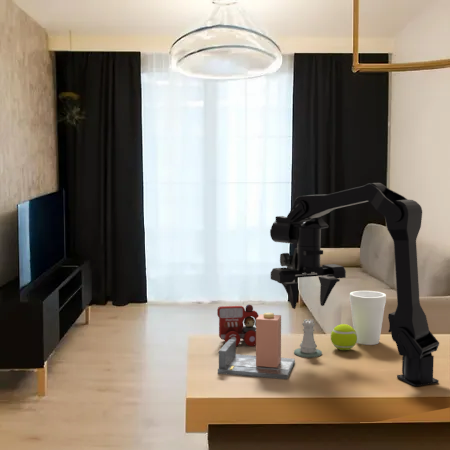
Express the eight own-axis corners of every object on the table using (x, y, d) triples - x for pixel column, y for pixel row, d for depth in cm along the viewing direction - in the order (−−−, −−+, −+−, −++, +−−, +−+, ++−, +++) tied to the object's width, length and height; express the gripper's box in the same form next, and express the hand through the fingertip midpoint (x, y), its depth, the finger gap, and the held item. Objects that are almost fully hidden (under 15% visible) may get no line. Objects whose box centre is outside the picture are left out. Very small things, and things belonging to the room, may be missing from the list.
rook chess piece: (296, 352, 155) (296, 321, 154) (303, 347, 159) (304, 317, 158) (313, 355, 153) (313, 323, 152) (319, 350, 157) (320, 319, 156)
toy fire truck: (266, 346, 163) (266, 307, 162) (219, 348, 161) (219, 309, 160) (260, 338, 170) (260, 301, 169) (215, 341, 168) (215, 303, 167)
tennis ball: (345, 355, 154) (345, 329, 154) (325, 349, 159) (325, 323, 159) (362, 350, 158) (362, 324, 158) (342, 344, 164) (342, 319, 163)
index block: (280, 360, 146) (281, 311, 145) (277, 367, 141) (277, 317, 140) (260, 359, 147) (260, 310, 146) (255, 365, 142) (255, 315, 141)
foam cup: (346, 336, 171) (347, 290, 170) (380, 336, 171) (381, 290, 170) (352, 346, 162) (353, 297, 161) (388, 346, 161) (389, 297, 160)
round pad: (327, 355, 154) (327, 353, 154) (302, 358, 151) (302, 356, 151) (312, 348, 160) (312, 346, 160) (289, 351, 158) (289, 349, 158)
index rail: (294, 362, 148) (294, 342, 148) (287, 379, 137) (287, 357, 136) (230, 357, 152) (230, 338, 152) (217, 373, 141) (217, 352, 140)
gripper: (324, 240, 164) (323, 297, 166) (261, 243, 157) (260, 303, 159) (347, 245, 154) (346, 306, 156) (281, 248, 147) (280, 313, 148)
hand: (308, 307), depth 155 cm, fingers open, 8 cm apart
